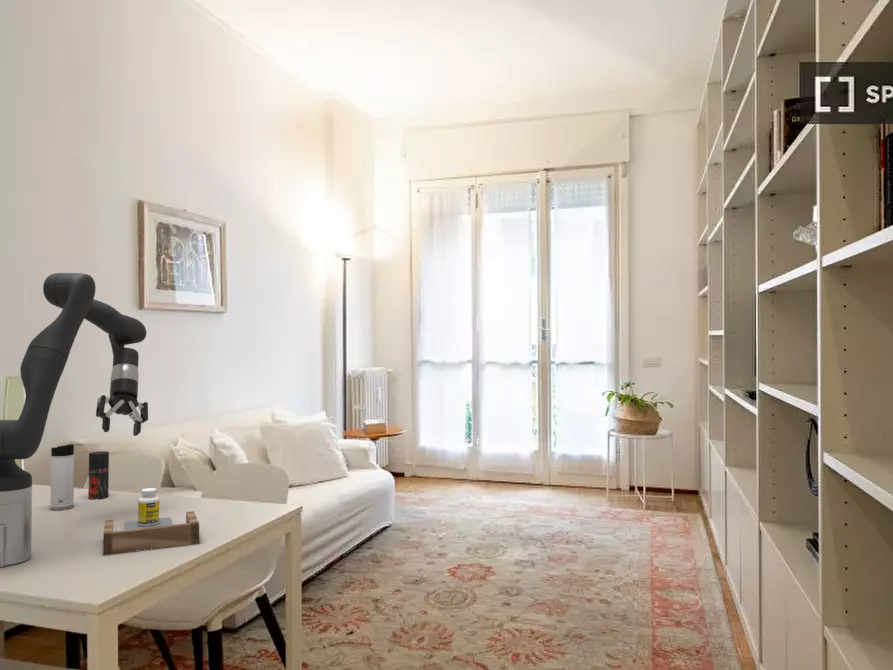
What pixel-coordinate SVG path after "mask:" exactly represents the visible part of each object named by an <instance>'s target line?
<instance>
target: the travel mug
mask: <svg viewBox="0 0 893 670" xmlns="http://www.w3.org/2000/svg"><path fill="white" fill-rule="evenodd" d="M74 450H75V445H74V443H72V444H66V445H60V446H59V445H58V446H57V447H51V448H50V451H51V452H50V453H51V454H50V455H51V456H50V457H51V458H50V510H51V509H52V510H51V511H55V510H59V511H63V510H62V509H67V510H69V508H71V509H73V508H74V502H75V501H74V499H75V497H74V496H75V495H74V494H75V493H74V488H75V487H74V486H75V485H74V484H75V482H74V481H75V478H74V477H75V452H74ZM72 507H73V508H72Z"/></svg>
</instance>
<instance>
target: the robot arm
mask: <svg viewBox="0 0 893 670" xmlns="http://www.w3.org/2000/svg"><path fill="white" fill-rule="evenodd" d="M42 287H43V288H42V292H43V295H44V297H45V300H46V301H47V302H48V303H49V304H51V305H53V306H55V307H57V308H60V309H62V310H61V312H60V313H59V315H58V316H57V317H56V318H55V319H54V320H53V321H52V322H51V323H50V324H48V325H47V326H46V327H45V328H44V329H43V330H41V331H40V332H39V333H38V334H37V335H36V336H35V337H34V338H33V339H31V341H30V342H29V344H28V346H27V349H26V351H25V354H24V356H23V358H22V361H21V364H20V370H19V371H20V377H21V378H20V379H21V381H22V386H23V389H24V393H25V394H24V395H25V398H24V399H25V401H24V404H23V408H22V410H21V413H20V415H19V417H18V419H0V568H4V567H6V566H10V565H17V564H20V563H23V562H26V561H27V560H28V561H29V559H31V558H32V534H33V533H32V525H33V524H32V523H33V522H32V520H33V518H32V516H33V512H32V511H33V475H32V474H31V473H30V472H28V471H26V470H24V469H22V468H21V467H20V466H19V465H18V464H17V462H16V460H28V459H29V458H31V457H32V456H34V455H35V453H36V452H37V451H38V449H39V447H40V444H41V442H42V438H43V435H44V432H45V428H46V425H47V420H48V416H49V411H50V409H51V404H52V403H53V399H54V396H55V393H56V390H57V388H58V385H59V382H60V380H61V377H62V375H63V372H64V370H65V367H66V365H67V362H68V360H69V356H70V353H71V350H72V348H73V345H74V342H75V339H76V338H77V334H78V332H79V330H80V328H81V326H82V324H83V322H84V320H86V321H88V322H89V323H91V324H93V325H94V326H96V327H98V328H99V329H100V330H102V331H103V332H105V333H106V334H107V335H108V338H109V342H110V346H111V351H112V357H113V359H112V369H111V373H110V374H111V375H110V388H109V397H108V396H107V397H106V395H104V394H103V395H101V396H99V398H97V405H96V409H95V411H96V412H95V416H96V417H97V418H101V420H102V421H101V422H102V424H101V429H102V430H103V433H108V432H109V431H110V429H111V428H110V427H111V416H112V415H113V414H114V413H115V414H116V415H123V416H128V417H129V419H131V420H132V422H133V423H134V424H133V431H132V433H133V434H132V436H134V437H137V436H138V435H140V433H142V424H144V423H146V422H147V421H149V403H148V402H147V401H144V402H140V401H139V400H138V394H139V376H140V375H139V374H140V373H139V352H138V351H137V350H136V349H134V348H132V347H125V346H127V345H133V344H138V343H142V342H143V341H144V340H145V339H146V337H147V329H146V326H145V325H144V324H143V322H142V321H140V320H138V319H136V318H135V317H132V316H128V315H125V314H122V313H121V312H120V311H118V310H117V309H116V308H114V307H113V306H111V305H110V304H107V303H105V302H103V301H100V300H97V299H95V296H96V282H95V279H94V277H92V276H91V275H90V274H86V273H81V272H80V273H78V272H55V273H52V274H49V275H48V276H47V277H46V278H45V280H44V282H43V286H42ZM107 403H108V405H109V407H110V408H109V409H108V410H107V411H106V412H105V408H106V404H107ZM137 407H138V408H137ZM138 410H139V411H138Z"/></svg>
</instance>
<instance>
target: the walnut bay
mask: <svg viewBox="0 0 893 670" xmlns="http://www.w3.org/2000/svg"><path fill="white" fill-rule="evenodd" d="M103 525H104V526H103V535H102V537H103V540H102V543H103V546H102V552H103V553H102V555H103V556H106V554H108V555H114V554H113V553H116V554H122V553H123V552H124V553H130V552H129V551H133V552H137V551H136V550H141V551H145V550H144V549H149V550H152V549H151V548H157V549H161V548H160V547H165V548H171V547H170V546H173V547H179V546H180V545H182V546H187V545H186V544H190V545H195V543H198V544H200V523H199V520H198V518H197V515H196V513H195V511H193V510H191V511H185V523H177V524H173V525H167V526H158V527H148V528H139V529H130V530H125V529H123V530H114V519H106V520H104V524H103ZM180 547H181V546H180Z"/></svg>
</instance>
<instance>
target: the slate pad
mask: <svg viewBox="0 0 893 670" xmlns="http://www.w3.org/2000/svg"><path fill="white" fill-rule="evenodd" d="M124 525H125V526H124V527H125V528H124V530H130V529H139V528H148V527H158V526H167V525H174V524H173V521H172V518H171V516H167V517H159V523H158V524H156V525H152V526H140V525H138V519H137V520H129V521H128V520H126V521H124Z"/></svg>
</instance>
